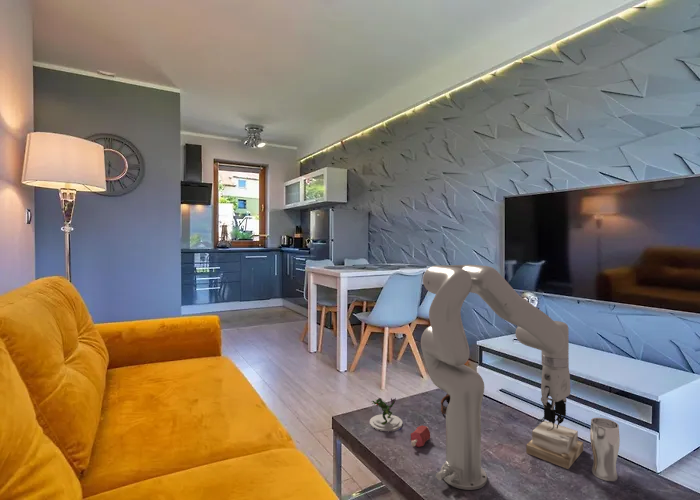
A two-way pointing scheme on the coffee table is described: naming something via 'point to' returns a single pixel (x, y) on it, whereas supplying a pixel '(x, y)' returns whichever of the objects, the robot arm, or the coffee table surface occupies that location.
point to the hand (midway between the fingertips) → (555, 417)
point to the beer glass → (604, 448)
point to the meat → (420, 436)
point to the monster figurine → (385, 418)
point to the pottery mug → (447, 398)
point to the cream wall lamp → (555, 444)
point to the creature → (560, 418)
